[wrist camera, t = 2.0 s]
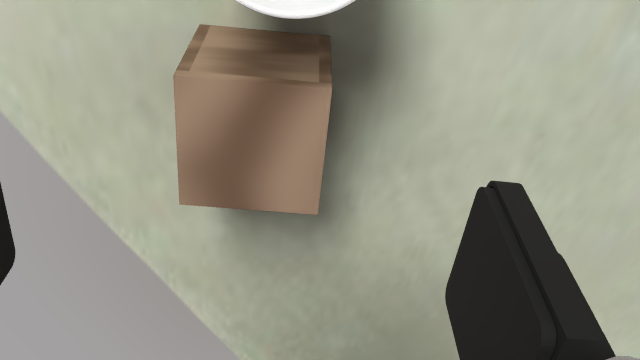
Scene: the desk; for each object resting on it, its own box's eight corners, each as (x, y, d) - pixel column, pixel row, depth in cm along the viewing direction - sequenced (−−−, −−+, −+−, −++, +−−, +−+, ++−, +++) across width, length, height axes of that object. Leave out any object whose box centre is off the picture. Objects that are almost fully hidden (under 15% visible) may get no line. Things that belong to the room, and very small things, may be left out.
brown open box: (329, 36, 32) (332, 88, 27) (317, 147, 36) (317, 214, 31) (199, 24, 32) (173, 75, 26) (202, 138, 36) (179, 204, 30)
